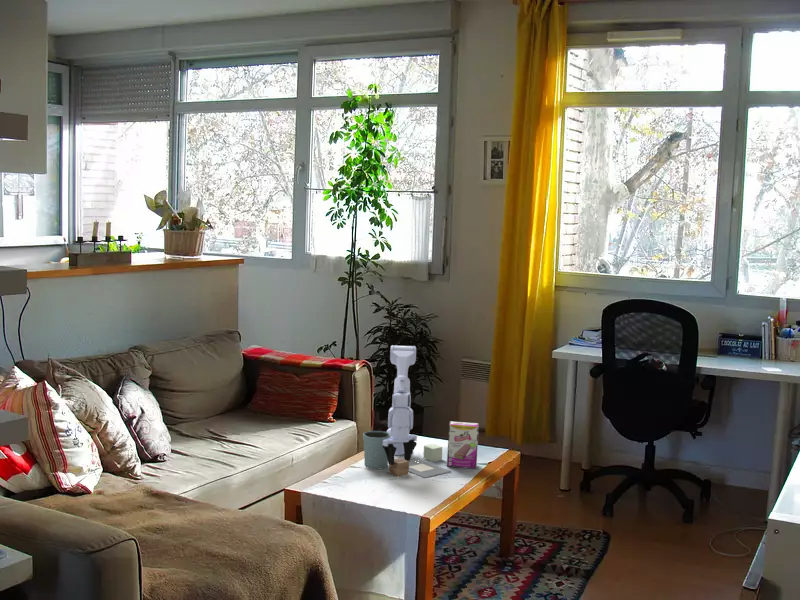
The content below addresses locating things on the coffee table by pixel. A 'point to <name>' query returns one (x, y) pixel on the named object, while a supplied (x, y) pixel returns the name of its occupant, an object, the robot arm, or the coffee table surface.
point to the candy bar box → (462, 444)
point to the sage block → (433, 452)
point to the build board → (425, 468)
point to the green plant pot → (375, 449)
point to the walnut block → (399, 467)
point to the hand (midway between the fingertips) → (399, 462)
